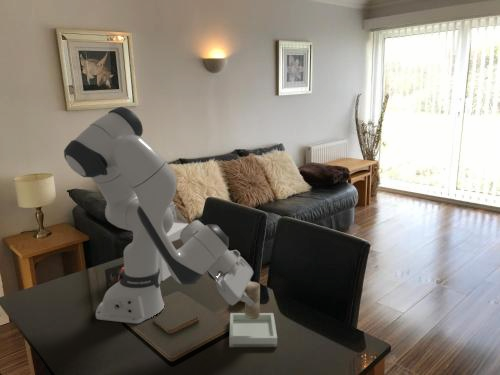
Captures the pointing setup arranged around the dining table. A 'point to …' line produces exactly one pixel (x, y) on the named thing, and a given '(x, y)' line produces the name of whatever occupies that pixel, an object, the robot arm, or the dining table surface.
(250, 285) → the dowel
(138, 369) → the dining table surface
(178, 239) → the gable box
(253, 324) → the tray
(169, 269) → the robot arm
